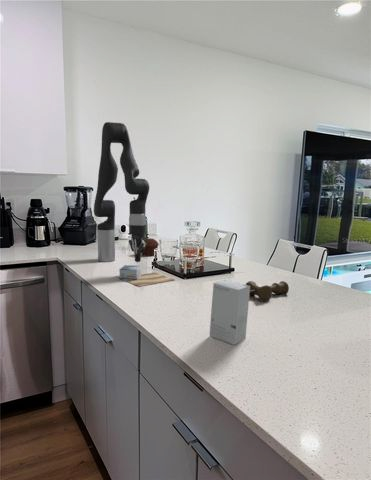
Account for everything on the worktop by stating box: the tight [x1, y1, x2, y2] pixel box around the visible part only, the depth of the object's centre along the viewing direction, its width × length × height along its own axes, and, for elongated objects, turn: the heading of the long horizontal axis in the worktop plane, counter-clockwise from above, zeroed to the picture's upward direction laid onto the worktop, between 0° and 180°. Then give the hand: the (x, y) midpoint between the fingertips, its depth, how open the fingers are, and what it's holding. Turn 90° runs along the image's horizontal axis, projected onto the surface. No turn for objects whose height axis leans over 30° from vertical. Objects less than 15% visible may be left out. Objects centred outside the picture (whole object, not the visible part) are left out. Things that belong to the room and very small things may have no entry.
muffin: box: [141, 237, 160, 257], centre depth 200 cm, size 12×11×10 cm
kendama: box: [245, 280, 290, 303], centre depth 123 cm, size 6×10×20 cm
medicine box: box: [119, 264, 142, 280], centre depth 147 cm, size 8×4×9 cm
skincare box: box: [209, 279, 250, 346], centre depth 87 cm, size 8×6×15 cm
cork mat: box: [122, 272, 176, 288], centre depth 145 cm, size 16×18×1 cm
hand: (137, 261), depth 150 cm, fingers closed
